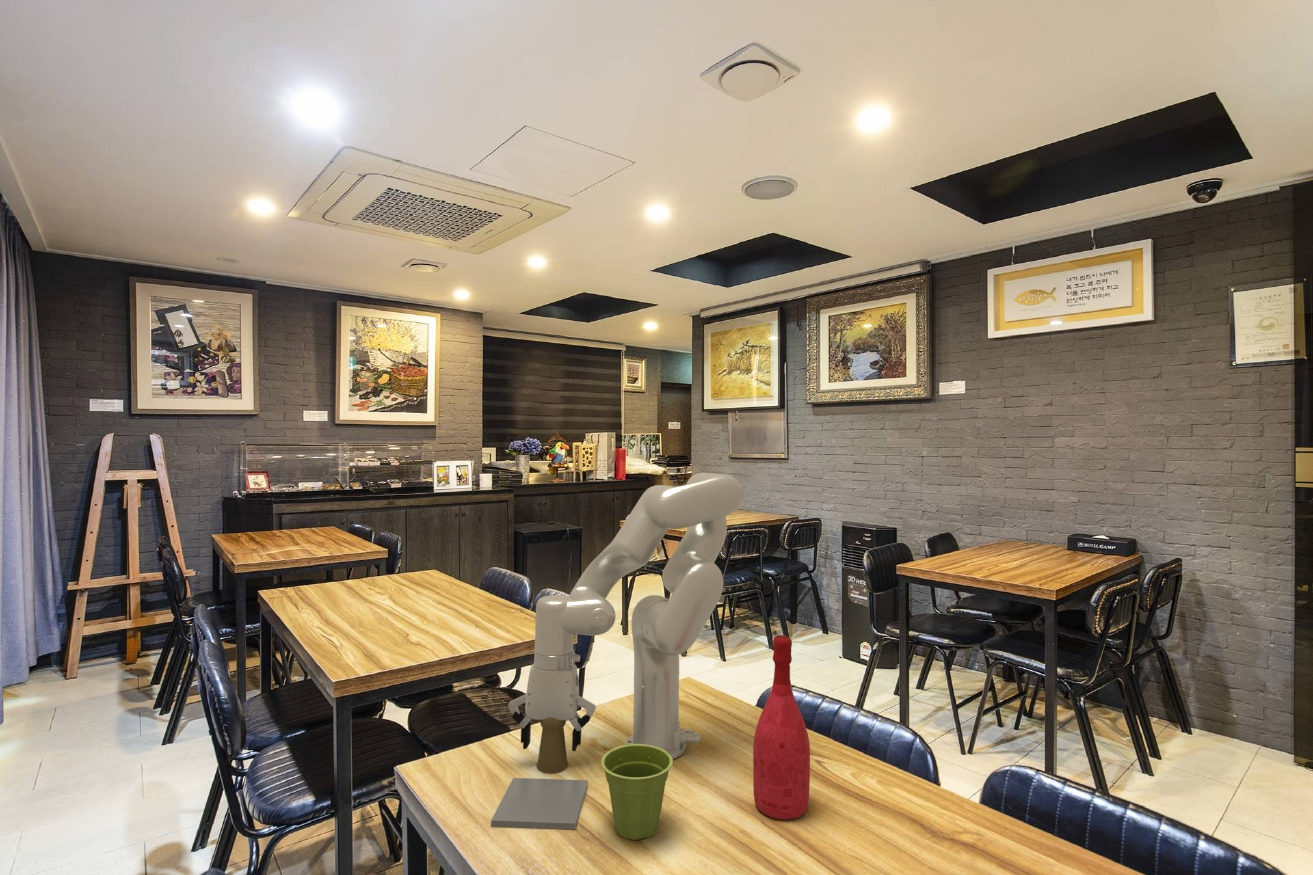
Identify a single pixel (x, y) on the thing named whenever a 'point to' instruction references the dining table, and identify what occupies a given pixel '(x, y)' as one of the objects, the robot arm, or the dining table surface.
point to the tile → (541, 804)
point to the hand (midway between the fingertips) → (550, 747)
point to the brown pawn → (552, 747)
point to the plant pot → (636, 787)
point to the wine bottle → (781, 746)
